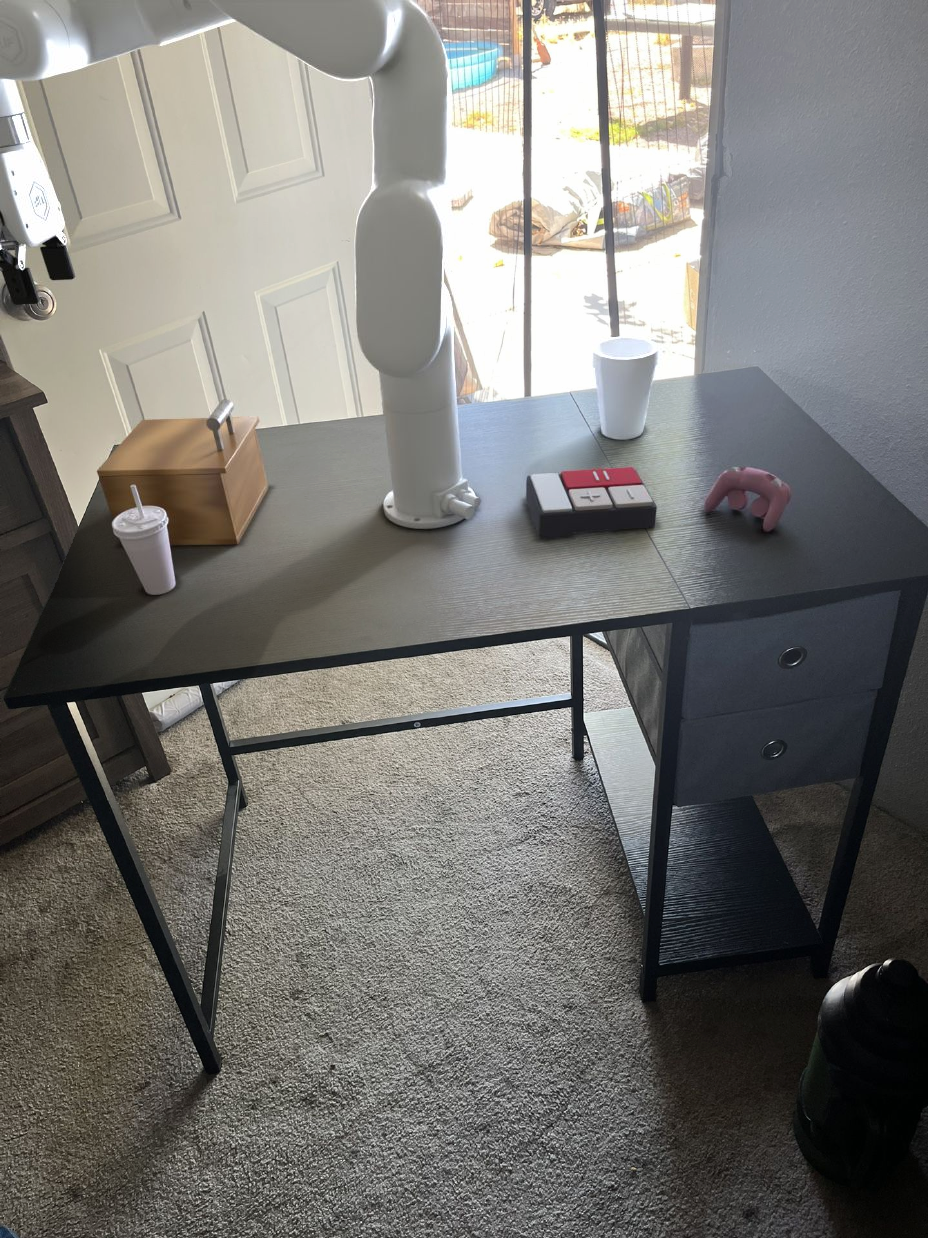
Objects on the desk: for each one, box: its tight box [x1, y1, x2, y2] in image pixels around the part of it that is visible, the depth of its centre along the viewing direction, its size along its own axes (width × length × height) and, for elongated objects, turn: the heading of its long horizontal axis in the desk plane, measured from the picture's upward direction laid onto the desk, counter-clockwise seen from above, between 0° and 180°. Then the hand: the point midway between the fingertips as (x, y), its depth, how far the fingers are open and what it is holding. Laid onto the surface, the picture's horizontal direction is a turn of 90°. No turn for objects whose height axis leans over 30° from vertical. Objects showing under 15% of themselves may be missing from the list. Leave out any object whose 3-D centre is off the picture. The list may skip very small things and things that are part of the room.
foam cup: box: [591, 336, 659, 440], centre depth 137 cm, size 10×9×13 cm
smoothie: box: [111, 485, 176, 596], centre depth 110 cm, size 6×6×14 cm
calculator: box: [525, 466, 658, 540], centre depth 120 cm, size 11×4×15 cm
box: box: [98, 428, 269, 547], centre depth 125 cm, size 16×16×10 cm
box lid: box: [96, 398, 260, 477], centre depth 120 cm, size 17×16×5 cm
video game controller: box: [703, 466, 792, 533], centre depth 117 cm, size 10×5×7 cm, turn 47°
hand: (45, 290), depth 112 cm, fingers open, 9 cm apart
